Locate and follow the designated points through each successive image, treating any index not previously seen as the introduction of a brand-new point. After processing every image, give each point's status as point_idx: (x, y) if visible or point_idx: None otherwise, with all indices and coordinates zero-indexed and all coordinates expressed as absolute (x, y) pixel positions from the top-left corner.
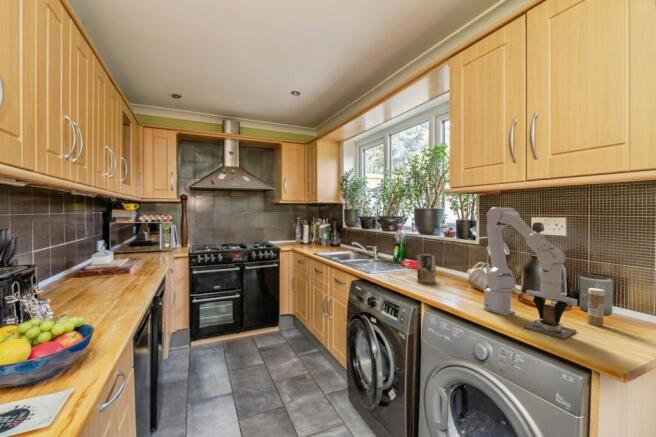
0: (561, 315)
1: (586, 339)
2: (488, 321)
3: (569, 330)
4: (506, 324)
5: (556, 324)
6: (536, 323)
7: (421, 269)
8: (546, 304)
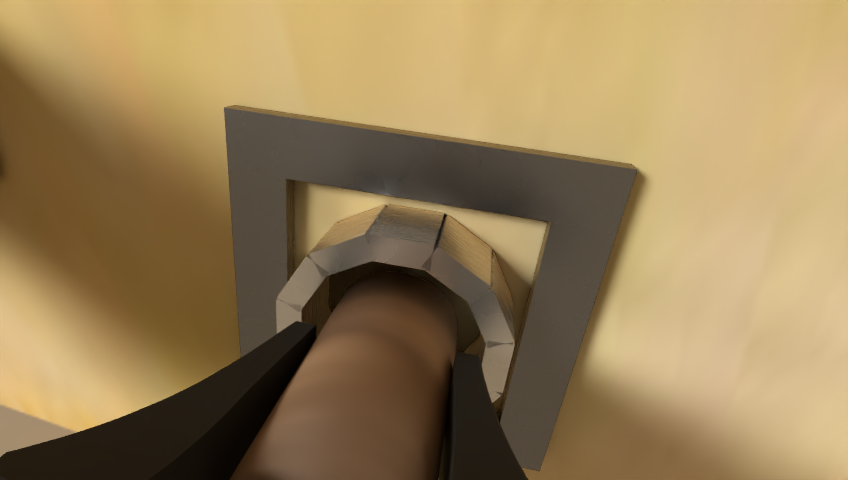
0: (495, 419)
1: (705, 334)
2: (54, 421)
3: (569, 246)
4: (148, 402)
5: (454, 358)
6: (280, 262)
7: None
8: (236, 477)
